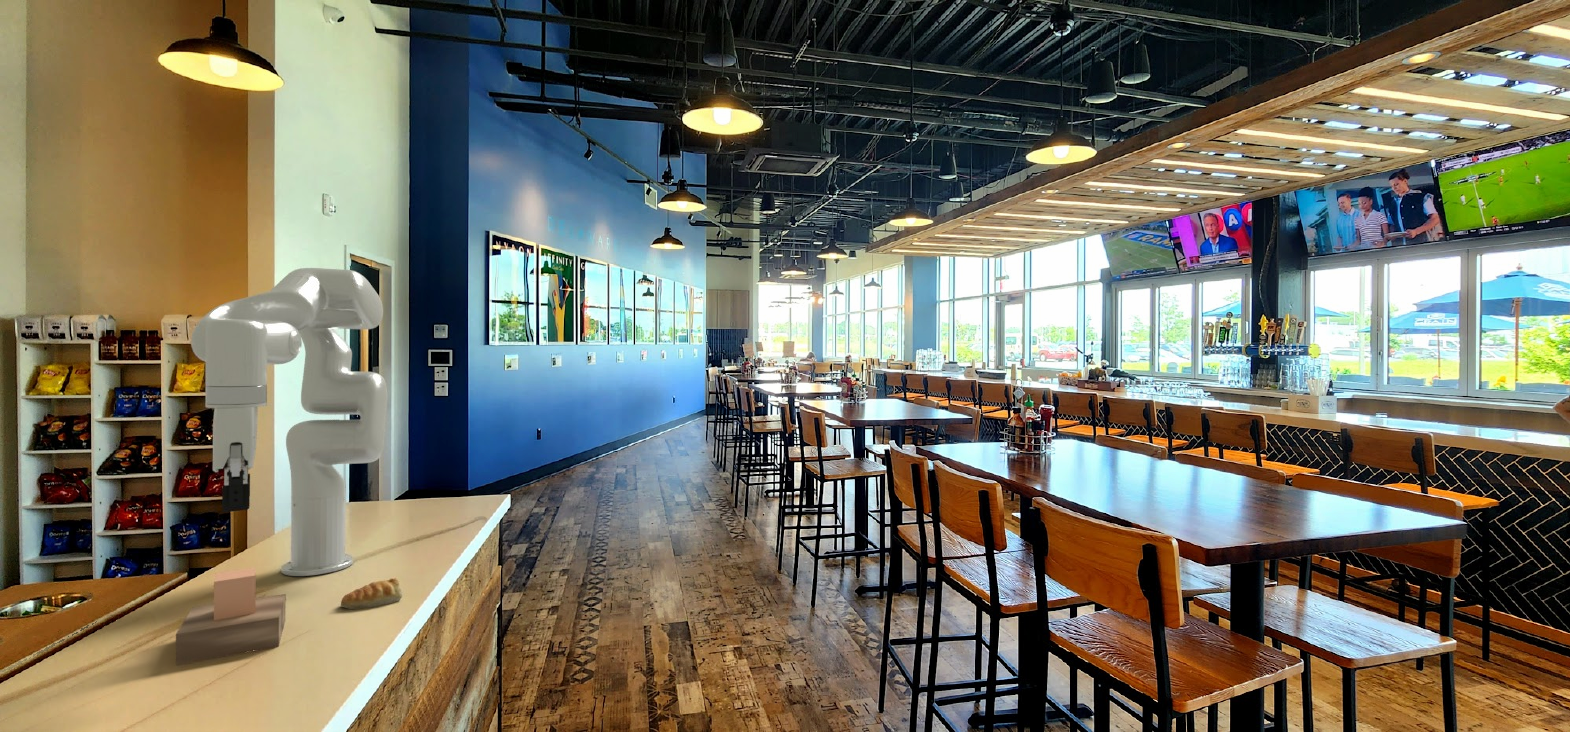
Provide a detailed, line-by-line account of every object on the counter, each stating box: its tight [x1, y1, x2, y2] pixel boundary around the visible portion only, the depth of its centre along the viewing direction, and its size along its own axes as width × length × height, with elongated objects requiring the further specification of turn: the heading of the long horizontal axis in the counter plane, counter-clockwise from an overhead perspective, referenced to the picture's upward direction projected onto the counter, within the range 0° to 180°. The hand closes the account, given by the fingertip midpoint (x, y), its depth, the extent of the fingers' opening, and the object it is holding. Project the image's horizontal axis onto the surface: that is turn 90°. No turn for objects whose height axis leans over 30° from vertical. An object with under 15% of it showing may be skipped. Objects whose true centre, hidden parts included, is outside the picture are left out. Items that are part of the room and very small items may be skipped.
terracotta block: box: [213, 567, 257, 620], centre depth 105 cm, size 5×5×6 cm
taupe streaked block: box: [175, 593, 287, 666], centre depth 105 cm, size 12×12×5 cm
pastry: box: [340, 577, 403, 610], centre depth 122 cm, size 9×7×4 cm
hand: (236, 504), depth 105 cm, fingers open, 9 cm apart
